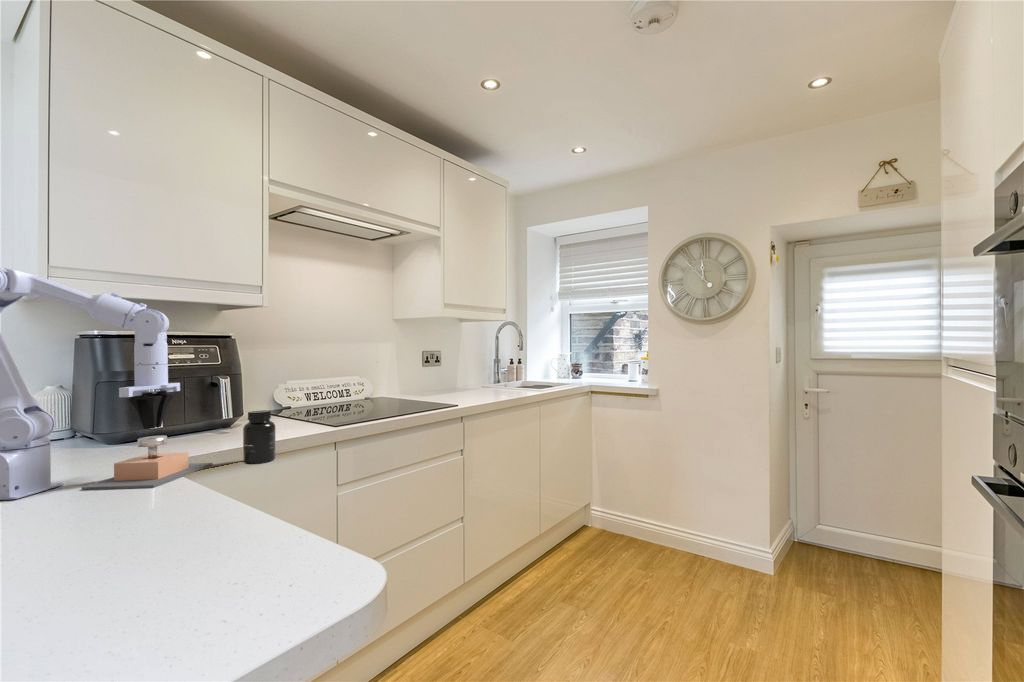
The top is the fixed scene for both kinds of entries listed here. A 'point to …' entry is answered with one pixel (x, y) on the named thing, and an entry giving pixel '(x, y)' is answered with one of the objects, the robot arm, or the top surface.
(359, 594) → the top surface
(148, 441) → the plunger
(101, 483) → the mat
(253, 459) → the supplement bottle
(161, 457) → the tan rectangular brick
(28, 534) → the top surface
